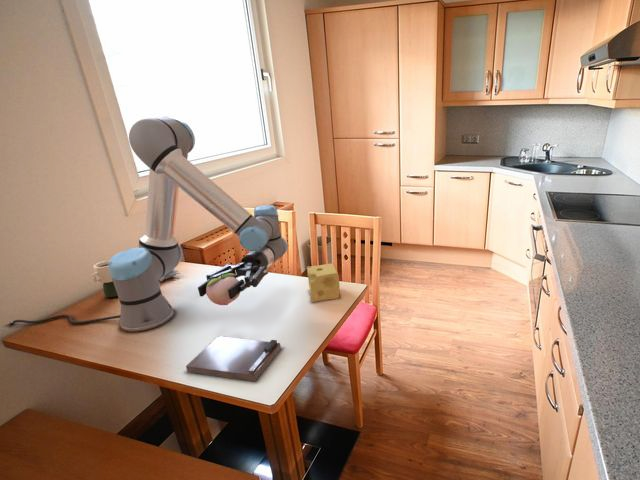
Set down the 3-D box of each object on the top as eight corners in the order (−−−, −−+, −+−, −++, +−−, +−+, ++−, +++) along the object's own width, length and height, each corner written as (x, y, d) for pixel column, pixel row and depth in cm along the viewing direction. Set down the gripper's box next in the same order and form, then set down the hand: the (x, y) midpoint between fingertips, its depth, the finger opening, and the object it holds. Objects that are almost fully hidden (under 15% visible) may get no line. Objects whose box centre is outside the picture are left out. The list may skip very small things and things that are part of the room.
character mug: (122, 287, 150) (112, 257, 145) (135, 290, 147) (125, 259, 142) (94, 300, 140) (83, 268, 135) (107, 303, 138) (96, 270, 133)
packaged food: (167, 270, 164) (164, 260, 162) (181, 277, 157) (178, 266, 155) (146, 278, 157) (142, 267, 155) (160, 285, 151) (157, 274, 149)
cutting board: (187, 372, 100) (184, 362, 99) (219, 341, 113) (217, 332, 112) (255, 381, 96) (253, 371, 95) (281, 348, 109) (279, 339, 107)
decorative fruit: (226, 315, 103) (219, 283, 100) (204, 310, 107) (197, 278, 103) (250, 300, 111) (245, 269, 107) (229, 295, 114) (223, 265, 111)
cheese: (311, 303, 133) (308, 277, 129) (308, 289, 143) (305, 265, 139) (340, 298, 136) (338, 273, 132) (336, 285, 145) (334, 261, 141)
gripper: (289, 273, 123) (252, 308, 102) (230, 269, 127) (184, 302, 106) (286, 251, 120) (247, 283, 99) (226, 248, 124) (177, 278, 104)
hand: (214, 293), depth 103 cm, fingers closed on decorative fruit, 8 cm apart
